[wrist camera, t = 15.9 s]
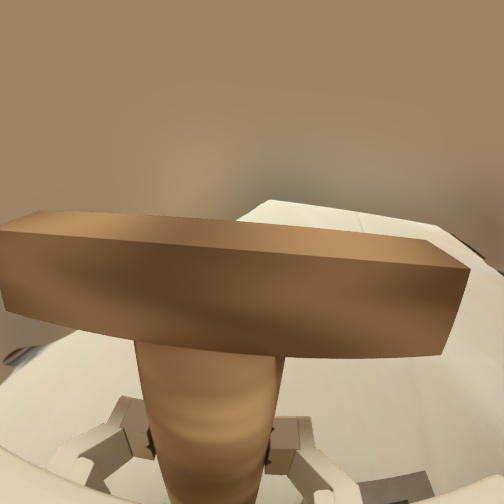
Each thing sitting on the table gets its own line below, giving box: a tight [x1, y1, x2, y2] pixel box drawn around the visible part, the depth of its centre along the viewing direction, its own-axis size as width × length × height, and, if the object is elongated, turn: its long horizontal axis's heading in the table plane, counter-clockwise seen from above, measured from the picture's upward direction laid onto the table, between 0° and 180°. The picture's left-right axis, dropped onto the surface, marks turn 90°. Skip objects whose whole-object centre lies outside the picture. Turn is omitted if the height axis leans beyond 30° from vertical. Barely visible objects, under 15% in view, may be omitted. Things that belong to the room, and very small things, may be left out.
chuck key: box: [0, 211, 471, 504], centre depth 10 cm, size 12×4×16 cm, turn 89°
